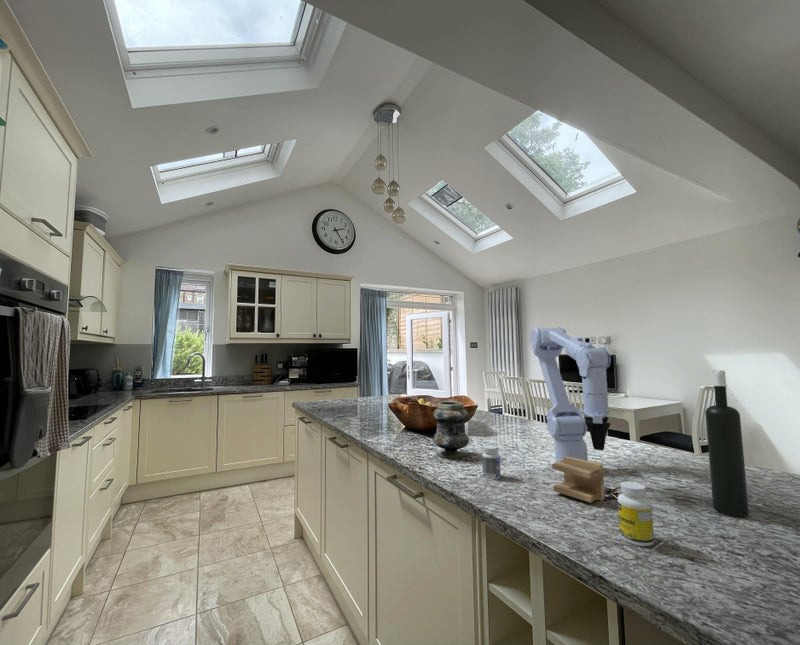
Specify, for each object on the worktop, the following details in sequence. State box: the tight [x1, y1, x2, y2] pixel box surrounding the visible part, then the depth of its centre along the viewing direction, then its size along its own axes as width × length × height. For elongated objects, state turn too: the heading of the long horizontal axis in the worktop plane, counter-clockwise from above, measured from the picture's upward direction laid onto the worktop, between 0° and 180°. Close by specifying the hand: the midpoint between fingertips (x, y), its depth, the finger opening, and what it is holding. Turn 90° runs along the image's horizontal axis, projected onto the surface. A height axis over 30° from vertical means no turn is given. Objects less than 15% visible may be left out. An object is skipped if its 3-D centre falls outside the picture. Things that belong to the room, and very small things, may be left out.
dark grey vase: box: [432, 400, 470, 461], centre depth 125 cm, size 12×12×18 cm
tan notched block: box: [551, 456, 605, 503], centre depth 89 cm, size 8×9×6 cm
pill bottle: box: [481, 444, 501, 481], centre depth 104 cm, size 5×5×8 cm
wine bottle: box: [704, 369, 750, 517], centre depth 81 cm, size 6×6×30 cm
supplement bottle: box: [617, 481, 655, 547], centre depth 69 cm, size 5×5×10 cm
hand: (598, 447), depth 96 cm, fingers open, 5 cm apart
